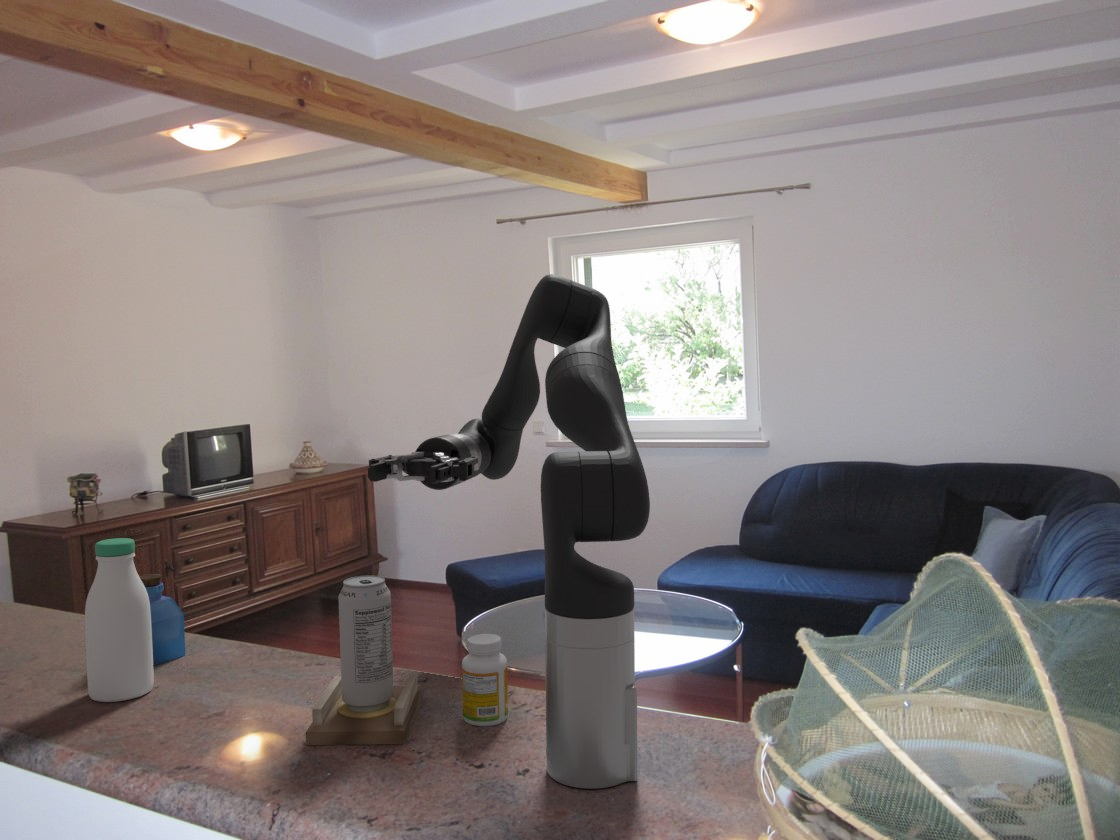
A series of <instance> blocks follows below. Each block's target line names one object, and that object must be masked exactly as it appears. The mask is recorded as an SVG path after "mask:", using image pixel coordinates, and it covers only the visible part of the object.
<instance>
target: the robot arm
mask: <svg viewBox="0 0 1120 840" xmlns="http://www.w3.org/2000/svg"><path fill="white" fill-rule="evenodd" d="M610 308H611V307H610V305H609V301H608V299H607V297H606V296H605V295H604V294H603V293H601V291H598V290H597V289H595V288H594V287H590V286H588V285H585V284H583V283H580V282H576V281H574V280H572V279H569V278H567V277H564V276H560V275H557V274H553V273H552V274H551V273H549V274H546V275H545V276H543V277H542V278H541V279H540V280H539V281H538V283H537V284H536V286H535V288H534V289H533V290H532V293H531V295H530V297H529V299H528V302H527V304H526V306H525V309H524V312H523V315H522V316H521V319H520V322H519V325H518V327H517V330H516V332H515V334H514V335H515V336H514V338H513V340H512V343H511V347H510V349H509V352H508V354H507V357H506V359H505V364H504V366H503V370H502V371H501V374H500V377H499V379H498V380H497V383H496V384H495V387H494V389H493V390H492V392H491V394H490V395H489V398H488V400H487V402H486V403H485V405H484V407H483V409H482V413H481V418H473V419H471V420H469V421H468V422H466V423H465V424H464V425H463V426H462V427H461V428H460V430H459V431H458V433H447V434H443V435H438V436H433V437H430V438H428V439H426V440H424V441H423V442H421V443H420V444H419V445H418V446H417V448H416V450H415V451H413V452H411V453H410V454H409V453H408V454H397V455H392V454H388V455H385V456H381V457H376V458H371V459H368V467H367V479H369V482H372V483H377V482H380V481H382V480H383V481H385V480H388V479H393V480H394V481H399V482H405V481H417V482H420V483H421V484H422V485H424V487H427V488H428V489H430V490H435V491H442V490H447V489H450V488H452V487H455V486H457V485H460V484H463V483H465V482H467V481H468V480H471V479H473V478H475V477H477V476H479V475H480V474H481V475H482V476H484V477H485V478H487V479H488V480H493V481H494V480H495V481H496V480H499V479H503V478H505V477H506V476H508V474H509V473H510V472H511V471H512V470H513V468H514V466H515V464H516V462H517V460H518V456H519V452H520V449H521V440H522V437H523V436H522V435H523V431H524V428H525V427H526V425H527V423H528V421H529V420H530V418H531V417H532V415H533V414H534V411H535V409H536V408H537V406H538V403H539V401H540V394H541V384H540V383H541V382H540V377H539V373H538V368H537V364H536V356H535V348H536V347H535V346H536V344H537V340H538V339H540V340H541V341H542V340H543V341H545V342H548V343H550V344H553V345H556V346H558V347H561V348H563V349H562V350H561V351H559V352H558V353H557V354H556V356H554V358H553V359H551V362H550V363H549V365H548V367H547V370H546V372H545V379H544V387H545V388H544V389H545V398H546V399H545V400H546V408H547V413H548V415H549V417H550V421H552V423H553V424H554V425H555V427H556V428H557V429H558V430H559V431H560V432H561V434H562V435H564V436H565V437H566V438H567V439H568V440H570V442H572V443H573V444H575V445H577V447H579V448H580V449H582V450H583V451H582V450H581V451H557V452H551V453H550V454H549V455H547V457H546V458H545V460H544V462H543V465H542V468H541V473H540V474H541V475H540V505H541V519H542V531H543V532H542V533H543V546H544V548H543V549H544V551H543V552H544V631H545V632H544V636H545V637H544V643H545V645H544V647H545V648H544V652H545V653H544V654H545V655H544V656H545V665H544V666H545V667H544V668H545V735H546V737H545V739H546V743H545V745H546V746H545V755H546V772H547V774H548V775H549V776H550V777H551V779H553V780H554V781H556V782H557V783H559V784H562V785H565V786H568V787H571V788H572V787H574V788H576V789H577V788H578V789H590V790H591V789H605V788H610V787H614V786H618V785H620V784H623V783H626V782H637V781H638V777H639V776H638V689H637V684H636V679H635V677H636V676H635V673H636V672H635V669H636V668H635V665H636V664H635V662H636V661H635V659H636V658H635V657H636V656H635V585H634V584H633V581H632V579H630V578H629V576H626V575H625V574H623V573H622V572H618V571H615V570H613V569H609V568H607V567H604V566H601V565H598V564H595V563H594V562H591V561H590V560H589V559H586V558H585V557H583V555H582V556H581V554H580V553H579V552H577V551H576V550H575V544H576V543H597V542H599V543H603V542H604V543H605V542H606V543H607V542H622V541H623V542H624V541H629V540H632V539H635V538H638V537H639V536H640V535H642V534H643V532H644V531H645V530H646V527H647V525H648V522H649V519H650V511H651V510H650V509H651V502H650V492H649V485H648V480H647V475H646V472H645V468H644V466H643V465H644V464H643V462H642V459H641V456H640V454H639V451H638V448H637V445H636V442H635V440H634V437H633V434H632V432H631V428H630V425H629V421H628V418H627V417H628V416H627V412H626V405H625V398H624V393H623V388H622V382H621V379H620V374H619V371H618V368H617V363H616V360H615V359H616V358H615V355H614V349H613V344H612V343H613V342H612V328H611V327H612V325H611V323H612V322H611V311H610ZM403 473H404V474H406V475H403Z"/></svg>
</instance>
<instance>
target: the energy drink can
mask: <svg viewBox="0 0 1120 840" xmlns="http://www.w3.org/2000/svg"><path fill="white" fill-rule="evenodd" d="M385 581H386V579H385V578H384V577H382V576H381V575H380V576H379V575H370V574H369V575H358V576H351V577H349V578H346V579H344V580H343V581H342V584H343V586H342V588H341V590H340V593H339V594H338V619H339V620H338V621H339V623H338V625H339V648H340V649H339V650H340V651H339V653H340V675H341V683H342V700H343V702H344V703H346V704H347V708H348V709H350V710H352V711H355V712H372V711H377V710H380V709H383V708H385V707H386V706H387V705H388V704H389V700H390V699H391V698H392V697H393V695H394V690H393V686H394V667H393V665H394V662H393V659H394V658H393V631H392V629H393V627H392V601H391V599H392V597H391V591H390V589H389V588H388V586H387V585H386V582H385Z"/></svg>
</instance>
